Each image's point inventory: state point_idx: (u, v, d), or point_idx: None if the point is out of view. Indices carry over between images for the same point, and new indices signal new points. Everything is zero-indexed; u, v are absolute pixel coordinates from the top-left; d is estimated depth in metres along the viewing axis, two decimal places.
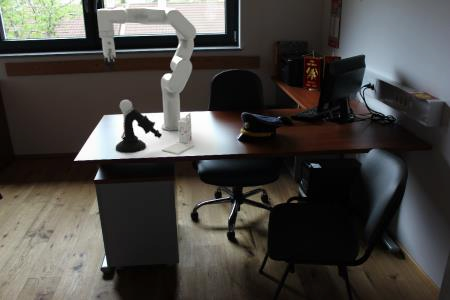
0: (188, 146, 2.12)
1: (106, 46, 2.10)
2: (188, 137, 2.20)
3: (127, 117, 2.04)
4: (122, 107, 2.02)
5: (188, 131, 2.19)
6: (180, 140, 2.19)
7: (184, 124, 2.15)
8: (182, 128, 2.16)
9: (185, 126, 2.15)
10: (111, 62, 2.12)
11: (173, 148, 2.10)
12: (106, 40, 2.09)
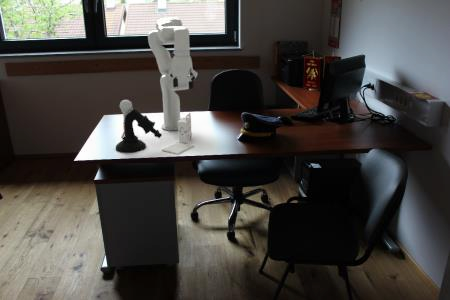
0: (188, 146, 2.12)
1: None
2: (188, 137, 2.20)
3: (127, 117, 2.04)
4: (122, 107, 2.02)
5: (188, 131, 2.19)
6: (180, 140, 2.19)
7: (184, 124, 2.15)
8: (182, 128, 2.16)
9: (185, 126, 2.15)
10: None
11: (173, 148, 2.10)
12: None
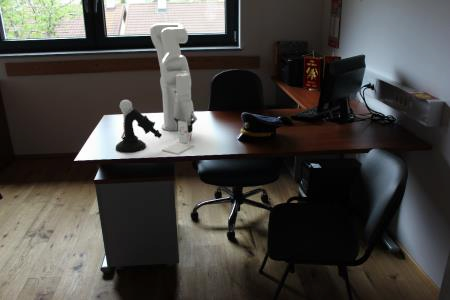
0: (188, 146, 2.12)
1: None
2: (188, 137, 2.20)
3: (127, 117, 2.04)
4: (122, 107, 2.02)
5: None
6: (180, 140, 2.19)
7: (184, 124, 2.15)
8: (182, 128, 2.16)
9: (185, 126, 2.15)
10: None
11: (173, 148, 2.10)
12: None
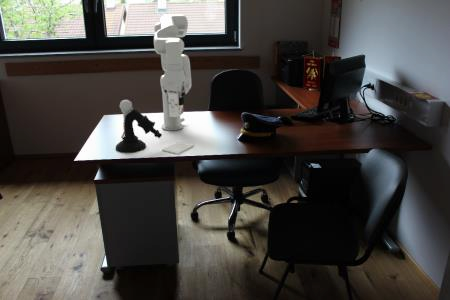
0: (188, 146, 2.12)
1: None
2: (179, 110, 2.02)
3: (127, 117, 2.04)
4: (122, 107, 2.02)
5: None
6: (170, 114, 2.01)
7: (175, 96, 1.97)
8: (172, 100, 1.98)
9: (176, 98, 1.98)
10: None
11: (173, 148, 2.10)
12: None
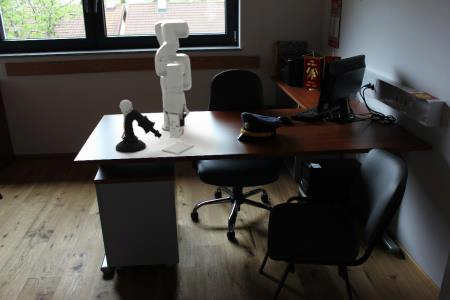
0: (188, 146, 2.12)
1: None
2: (180, 132, 2.06)
3: (127, 117, 2.04)
4: (122, 107, 2.02)
5: None
6: (171, 135, 2.05)
7: (175, 118, 2.01)
8: (173, 122, 2.02)
9: (177, 120, 2.01)
10: None
11: (173, 148, 2.10)
12: None
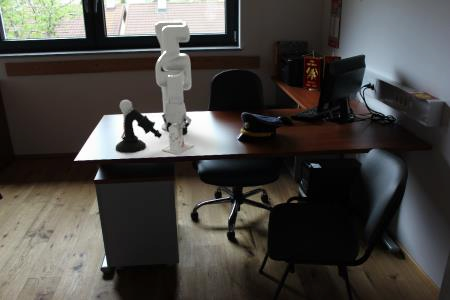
0: (188, 146, 2.12)
1: None
2: (179, 144, 2.08)
3: (127, 117, 2.04)
4: (122, 107, 2.02)
5: (180, 137, 2.07)
6: (171, 147, 2.07)
7: (175, 130, 2.03)
8: (173, 134, 2.05)
9: (176, 132, 2.04)
10: None
11: None
12: None
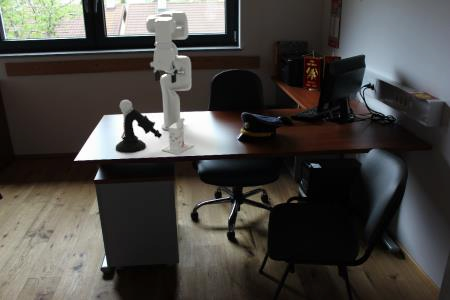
0: (188, 146, 2.12)
1: None
2: (179, 144, 2.08)
3: (127, 117, 2.04)
4: (122, 107, 2.02)
5: (180, 137, 2.07)
6: (171, 147, 2.07)
7: (175, 130, 2.03)
8: (173, 134, 2.05)
9: (176, 132, 2.04)
10: None
11: None
12: None
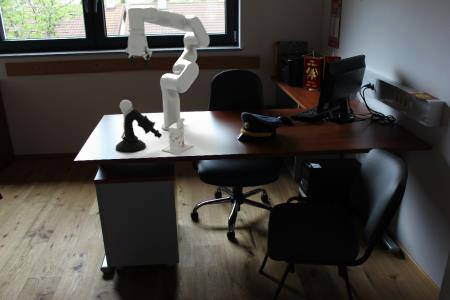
0: (188, 146, 2.12)
1: None
2: (179, 144, 2.08)
3: (127, 117, 2.04)
4: (122, 107, 2.02)
5: (180, 137, 2.07)
6: (171, 147, 2.07)
7: (175, 130, 2.03)
8: (173, 134, 2.05)
9: (176, 132, 2.04)
10: None
11: None
12: None
